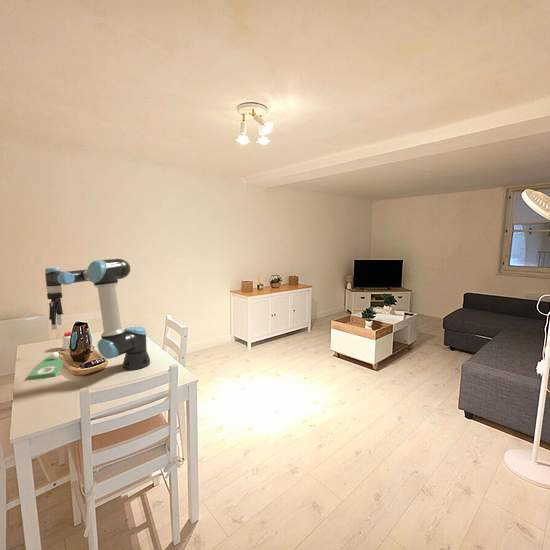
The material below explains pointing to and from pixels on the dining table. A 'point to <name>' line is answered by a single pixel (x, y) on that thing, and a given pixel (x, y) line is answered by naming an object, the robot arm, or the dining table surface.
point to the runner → (47, 368)
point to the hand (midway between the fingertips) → (57, 326)
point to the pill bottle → (66, 340)
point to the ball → (54, 355)
